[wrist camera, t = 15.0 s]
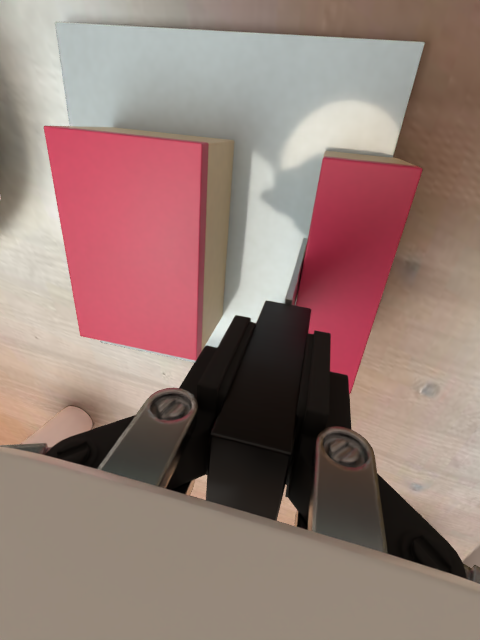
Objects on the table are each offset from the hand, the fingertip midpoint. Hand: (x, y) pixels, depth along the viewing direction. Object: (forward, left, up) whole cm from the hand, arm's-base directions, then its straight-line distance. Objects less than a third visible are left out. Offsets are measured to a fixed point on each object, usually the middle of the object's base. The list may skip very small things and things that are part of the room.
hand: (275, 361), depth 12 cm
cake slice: (-2, 0, -12) cm, 13 cm away
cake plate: (+6, 0, -13) cm, 15 cm away
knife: (0, 0, -11) cm, 11 cm away
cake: (+9, 0, -13) cm, 16 cm away
